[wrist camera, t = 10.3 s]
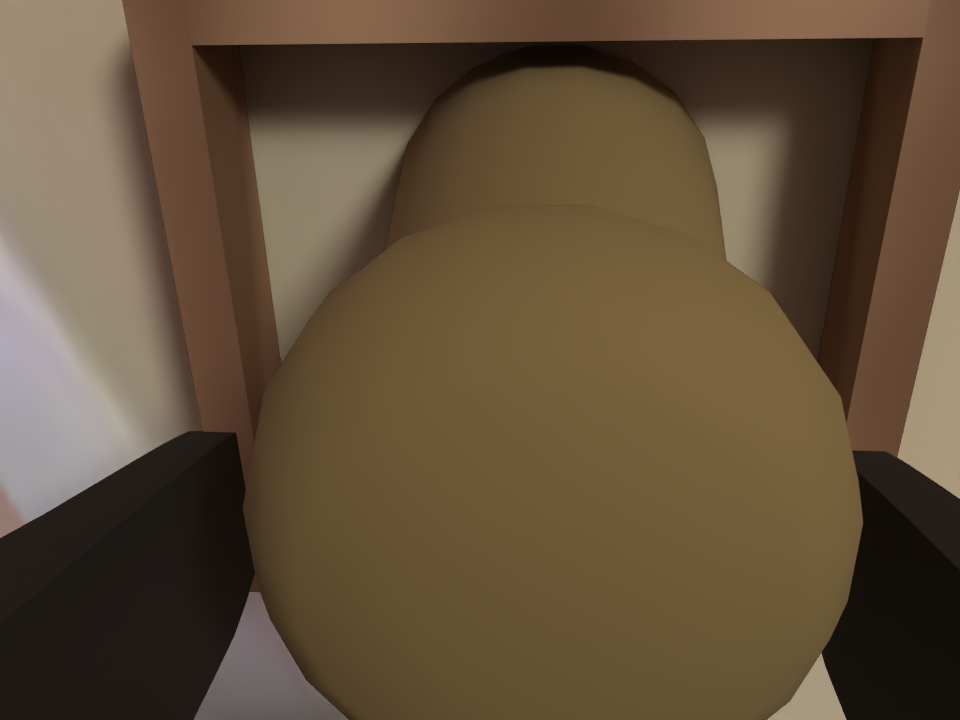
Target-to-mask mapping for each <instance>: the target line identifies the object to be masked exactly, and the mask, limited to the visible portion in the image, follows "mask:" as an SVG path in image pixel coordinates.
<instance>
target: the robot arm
mask: <svg viewBox="0 0 960 720" xmlns="http://www.w3.org/2000/svg"><path fill="white" fill-rule="evenodd" d="M852 452H853V457H854V462H855V467H856V471H857V476H858V481H859V490H860V499H861V508H862V517H863V526H862V531H861V537H860V542H859V547H858V552H857V557H856V562H855V567H854V572H853V577H852V582H851V587H850V592H849V597H848V602H847V604H846V606H845V608H844V610H843V613H842V615H841V617H840V619H839V621H838V623H837V625H836V627H835V629H834V631H833V634H832V636H831V638H830V640H829V641H828V643H827V644H826V646H825V648H824V649H823V651H822V656H823V659H824V663H825V666H826V669H827V671H828V674H829V676H830V679H831V682H832V684H833V687H834V689H835V692H836V694H837V697H838V699H839V702H840V704H841V707H842V709H843V712H844V714H845V717H846V719H847V720H960V499H959V498H957V497H956V496H954V495H953V494H952V493H950V492H949V491H947V490H946V489H944V488H943V487H941V486H940V485H938V484H937V483H935V482H934V481H932V480H931V479H930V478H928V477H927V476H925V475H924V474H922V473H921V472H919V471H918V470H916V469H914V468H913V467H911V466H910V465H908V464H907V463H905V462H903V461H902V460H900V459H898V458H897V457H895V456H893V455H891V454H890V453H888V452H886V451H857V450H852ZM245 492H246V488H245V482H244V476H243V470H242V464H241V458H240V452H239V446H238V440H237V434H236V433H235V432H201V431H189V432H186V433H184V434H182V435H180V436H178V437H176V438H174V439H172V440H170V441H168V442H166V443H164V444H163V445H161V446H159V447H157V448H155V449H154V450H152V451H150V452H148V453H147V454H145V455H143V456H142V457H140V458H138V459H136V460H135V461H133V462H131V463H130V464H128V465H126V466H125V467H123V468H121V469H120V470H118V471H116V472H115V473H113V474H111V475H110V476H108V477H106V478H105V479H103V480H101V481H99V482H98V483H96V484H94V485H93V486H91V487H89V488H88V489H86V490H84V491H83V492H81V493H79V494H78V495H76V496H74V497H72V498H71V499H69V500H67V501H66V502H64V503H62V504H61V505H59V506H57V507H56V508H54V509H52V510H50V511H49V512H47V513H45V514H44V515H42V516H40V517H38V518H36V519H34V520H33V521H31V522H29V523H27V524H25V525H23V526H22V527H20V528H18V529H16V530H14V531H12V532H11V533H9V534H7V535H5V536H3V537H2V538H0V720H193V719H194V717H195V715H196V713H197V711H198V709H199V707H200V705H201V703H202V701H203V699H204V697H205V695H206V693H207V691H208V689H209V687H210V685H211V683H212V681H213V679H214V677H215V675H216V673H217V671H218V669H219V666H220V664H221V662H222V660H223V658H224V656H225V654H226V652H227V650H228V648H229V646H230V644H231V641H232V639H233V637H234V635H235V632H236V629H237V627H238V624H239V621H240V618H241V615H242V612H243V609H244V607H245V604H246V601H247V597H248V594H249V591H250V588H251V585H252V582H253V578H254V575H255V570H254V565H253V559H252V554H251V549H250V544H249V539H248V534H247V528H246V523H245V518H244V513H243V504H244V498H245Z"/></svg>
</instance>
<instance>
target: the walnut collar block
mask: <svg viewBox="0 0 960 720" xmlns="http://www.w3.org/2000/svg"><path fill="white" fill-rule="evenodd" d="M122 2H123V7H124V13H125V18H126V23H127V29H128V34H129V39H130V45H131V50H132V56H133V61H134V66H135V72H136V77H137V82H138V88H139V93H140V98H141V104H142V109H143V114H144V120H145V125H146V131H147V136H148V141H149V147H150V152H151V157H152V163H153V168H154V173H155V179H156V184H157V189H158V195H159V200H160V206H161V211H162V216H163V222H164V227H165V232H166V238H167V243H168V248H169V254H170V259H171V264H172V270H173V275H174V280H175V286H176V291H177V297H178V302H179V307H180V313H181V318H182V323H183V329H184V334H185V339H186V345H187V350H188V355H189V361H190V366H191V372H192V377H193V382H194V388H195V393H196V398H197V404H198V409H199V414H200V420H201V425H202V430H203V432H235V433H236V434H237V440H238V446H239V452H240V458H241V464H242V470H243V476H244V482H245V488H246V486H247V480H248V475H249V469H250V464H251V458H252V453H253V448H254V443H255V437H256V432H257V427H258V421H259V416H260V411H261V406H262V400H263V395H264V391H265V389H266V388H267V386H268V385H269V383H270V381H271V380H272V378H273V377H274V375H275V374H276V372H277V370H278V369H279V367H280V366H281V361H280V354H279V346H278V339H277V332H276V324H275V317H274V309H273V302H272V294H271V287H270V279H269V272H268V265H267V257H266V250H265V242H264V235H263V227H262V220H261V212H260V205H259V198H258V190H257V183H256V175H255V168H254V160H253V153H252V145H251V138H250V130H249V123H248V116H247V108H246V101H245V93H244V86H243V78H242V71H241V63H240V56H239V49H238V45H265V44H358V43H451V42H544V41H637V40H730V39H823V38H875V39H874V45H873V51H872V57H871V62H870V68H869V74H868V79H867V85H866V91H865V96H864V102H863V108H862V113H861V119H860V125H859V131H858V136H857V142H856V148H855V153H854V159H853V165H852V170H851V176H850V182H849V188H848V193H847V199H846V205H845V210H844V216H843V222H842V227H841V233H840V239H839V245H838V250H837V256H836V262H835V267H834V273H833V279H832V284H831V290H830V296H829V302H828V307H827V313H826V319H825V324H824V330H823V336H822V341H821V347H820V353H819V358H818V364H819V365H820V367H821V368H822V370H823V371H824V373H825V374H826V376H827V377H828V379H829V380H830V382H831V383H832V385H833V386H834V388H835V389H836V390H837V392H838V393H839V395H840V396H841V400H842V405H843V410H844V415H845V419H846V424H847V429H848V434H849V438H850V443H851V448H852V450H857V451H886V452H888V453H890V454H891V455H893V456H895V457H897V456H898V452H899V447H900V443H901V439H902V434H903V430H904V426H905V422H906V417H907V413H908V409H909V405H910V400H911V396H912V392H913V387H914V383H915V379H916V375H917V370H918V366H919V362H920V358H921V353H922V349H923V345H924V340H925V336H926V332H927V328H928V323H929V319H930V315H931V311H932V306H933V302H934V298H935V294H936V289H937V285H938V281H939V276H940V272H941V268H942V264H943V259H944V255H945V251H946V247H947V242H948V238H949V234H950V229H951V225H952V221H953V217H954V212H955V208H956V204H957V200H958V195H959V191H960V0H122ZM249 592H260V590H259V587H258V584H257V580H256V575H254V578H253V582H252V585H251V588H250V591H249Z"/></svg>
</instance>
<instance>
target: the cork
mask: <svg viewBox="0 0 960 720" xmlns="http://www.w3.org/2000/svg"><path fill="white" fill-rule="evenodd" d="M243 513H244V518H245V523H246V528H247V534H248V539H249V544H250V549H251V554H252V559H253V565H254V570H255V575H256V580H257V584H258V587H259V590H260V592H261V595H262V598H263V601H264V603H265V606H266V609H267V612H268V614H269V617H270V620H271V621H272V623H273V625H274V626H275V628H276V630H277V632H278V633H279V635H280V637H281V638H282V640H283V642H284V643H285V645H286V647H287V648H288V650H289V652H290V654H291V655H292V657H293V659H294V660H295V662H296V664H297V665H298V667H299V669H300V670H301V672H302V674H303V676H304V677H305V679H306V680H307V681H308V682H309V683H310V684H311V685H312V686H313V687H314V688H315V689H316V690H317V691H319V692H320V693H321V694H322V695H323V696H324V697H325V698H326V699H327V700H328V701H329V702H330V703H332V704H333V705H334V706H335V707H336V708H337V709H338V710H339V711H340V712H341V713H342V714H344V715H345V716H346V717H347V718H348V719H349V720H767V719H768V718H769V717H771V716H772V715H773V714H774V713H776V712H777V711H778V710H779V709H781V708H782V707H783V706H784V705H786V704H787V703H788V702H789V701H790V700H791V699H792V697H793V696H794V694H795V693H796V691H797V689H798V688H799V686H800V685H801V683H802V682H803V680H804V679H805V677H806V675H807V674H808V672H809V671H810V669H811V668H812V666H813V665H814V663H815V661H816V660H817V658H818V657H819V655H820V654H821V652H822V651H823V649H824V648H825V646H826V644H827V643H828V641H829V640H830V638H831V636H832V634H833V631H834V629H835V627H836V625H837V623H838V621H839V619H840V617H841V615H842V613H843V610H844V608H845V606H846V604H847V602H848V597H849V592H850V587H851V582H852V577H853V572H854V567H855V562H856V557H857V552H858V547H859V542H860V537H861V531H862V526H863V517H862V508H861V499H860V490H859V481H858V476H857V471H856V467H855V462H854V457H853V452H852V448H851V443H850V438H849V434H848V429H847V424H846V419H845V415H844V410H843V405H842V400H841V396H840V395H839V393H838V392H837V390H836V389H835V388H834V386H833V385H832V383H831V382H830V380H829V379H828V377H827V376H826V374H825V373H824V371H823V370H822V368H821V367H820V365H819V364H818V362H817V361H816V359H815V358H814V357H813V355H812V354H811V352H810V351H809V349H808V348H807V346H806V345H805V343H804V342H803V340H802V339H801V337H800V336H799V334H798V333H797V331H796V330H795V329H794V327H793V326H792V324H791V323H790V321H789V320H788V318H787V317H786V315H785V314H784V312H783V311H782V309H781V308H780V306H779V305H778V304H777V302H776V301H775V299H774V298H773V296H772V295H771V293H770V292H769V291H768V290H766V289H765V288H764V287H762V286H761V285H759V284H758V283H757V282H755V281H754V280H753V279H751V278H750V277H748V276H747V275H746V274H744V273H743V272H741V271H740V270H739V269H737V268H736V267H734V266H733V265H732V264H730V263H729V262H727V261H726V253H725V246H724V238H723V230H722V223H721V215H720V207H719V200H718V192H717V186H716V182H715V178H714V174H713V170H712V166H711V162H710V158H709V154H708V150H707V146H706V142H705V138H704V136H703V134H702V133H701V131H700V130H699V128H698V127H697V125H696V124H695V122H694V121H693V119H692V118H691V116H690V115H689V113H688V112H687V110H686V109H685V107H684V106H683V104H682V103H681V101H680V100H679V98H678V97H677V95H676V94H675V93H674V92H673V91H671V90H670V89H669V88H667V87H666V86H665V85H663V84H662V83H661V82H659V81H658V80H657V79H655V78H654V77H653V76H651V75H650V74H649V73H647V72H646V71H645V70H643V69H642V68H641V67H639V66H638V65H637V64H635V63H634V62H632V61H629V60H626V59H623V58H619V57H616V56H613V55H610V54H607V53H604V52H600V51H597V50H594V49H591V48H588V47H584V46H581V45H580V46H547V47H526V48H523V49H520V50H518V51H515V52H512V53H510V54H507V55H504V56H502V57H499V58H496V59H494V60H491V61H489V62H486V63H483V64H481V65H478V66H476V67H474V68H473V69H472V70H471V71H470V72H468V73H467V74H466V75H465V76H463V77H462V78H461V79H460V80H459V81H457V82H456V83H455V84H454V85H453V86H451V87H450V88H449V89H448V90H446V91H445V92H444V93H443V94H442V95H440V96H439V97H438V98H437V99H435V101H434V102H433V104H432V106H431V107H430V109H429V110H428V112H427V114H426V115H425V117H424V118H423V120H422V122H421V123H420V125H419V126H418V128H417V130H416V131H415V133H414V134H413V136H412V137H411V139H410V141H409V142H408V145H407V149H406V153H405V157H404V161H403V165H402V170H401V174H400V178H399V182H398V186H397V190H396V195H395V200H394V205H393V211H392V216H391V221H390V226H389V231H388V237H387V242H386V247H385V251H384V252H383V253H381V254H380V255H379V256H377V257H376V258H375V259H373V260H372V261H371V262H369V263H368V264H367V265H365V266H364V267H363V268H362V269H360V270H359V271H358V272H356V273H355V274H354V275H352V276H351V277H350V278H348V279H347V280H346V281H345V282H343V283H342V284H341V285H339V286H338V287H337V288H335V289H334V290H333V291H331V292H330V293H329V295H328V296H327V297H326V298H325V300H324V301H323V302H322V304H321V305H320V306H319V308H318V309H317V310H316V312H315V313H314V314H313V316H312V317H311V318H310V320H309V321H308V323H307V325H306V326H305V328H304V329H303V331H302V333H301V334H300V336H299V337H298V339H297V340H296V342H295V344H294V345H293V347H292V348H291V350H290V351H289V353H288V355H287V356H286V358H285V359H284V361H283V363H282V364H281V366H280V367H279V369H278V370H277V372H276V374H275V375H274V377H273V378H272V380H271V381H270V383H269V385H268V386H267V388H266V389H265V391H264V395H263V400H262V406H261V411H260V416H259V421H258V427H257V432H256V437H255V443H254V448H253V453H252V458H251V464H250V469H249V475H248V480H247V486H246V492H245V498H244V504H243Z"/></svg>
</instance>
